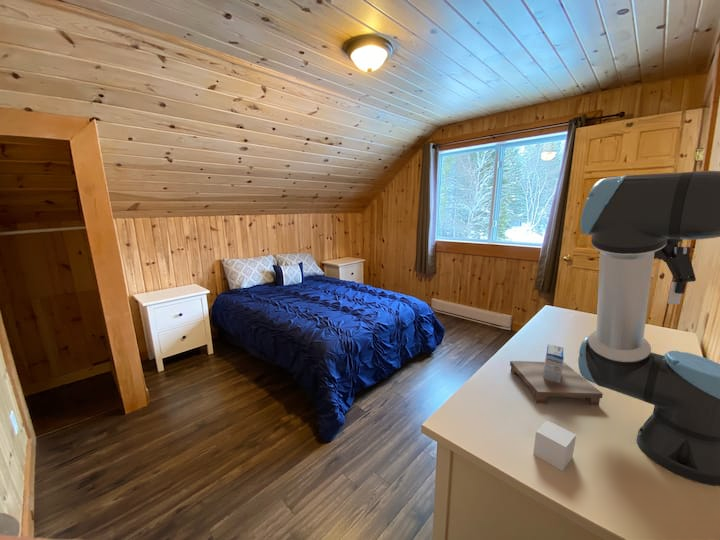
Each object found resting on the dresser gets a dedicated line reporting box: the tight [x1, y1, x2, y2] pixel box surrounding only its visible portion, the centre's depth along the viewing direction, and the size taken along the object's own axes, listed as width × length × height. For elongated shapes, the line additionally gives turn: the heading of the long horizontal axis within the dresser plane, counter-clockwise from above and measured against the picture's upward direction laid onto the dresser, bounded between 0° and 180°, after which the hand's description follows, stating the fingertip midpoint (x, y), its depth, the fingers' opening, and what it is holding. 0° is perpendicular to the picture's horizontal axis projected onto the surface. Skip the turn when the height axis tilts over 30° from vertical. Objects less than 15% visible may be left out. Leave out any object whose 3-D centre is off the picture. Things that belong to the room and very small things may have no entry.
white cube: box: [533, 420, 577, 472], centre depth 69 cm, size 6×6×6 cm
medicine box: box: [543, 344, 565, 383], centre depth 95 cm, size 8×4×9 cm, turn 147°
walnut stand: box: [509, 360, 604, 406], centre depth 96 cm, size 18×18×4 cm
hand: (652, 297), depth 95 cm, fingers open, 13 cm apart
